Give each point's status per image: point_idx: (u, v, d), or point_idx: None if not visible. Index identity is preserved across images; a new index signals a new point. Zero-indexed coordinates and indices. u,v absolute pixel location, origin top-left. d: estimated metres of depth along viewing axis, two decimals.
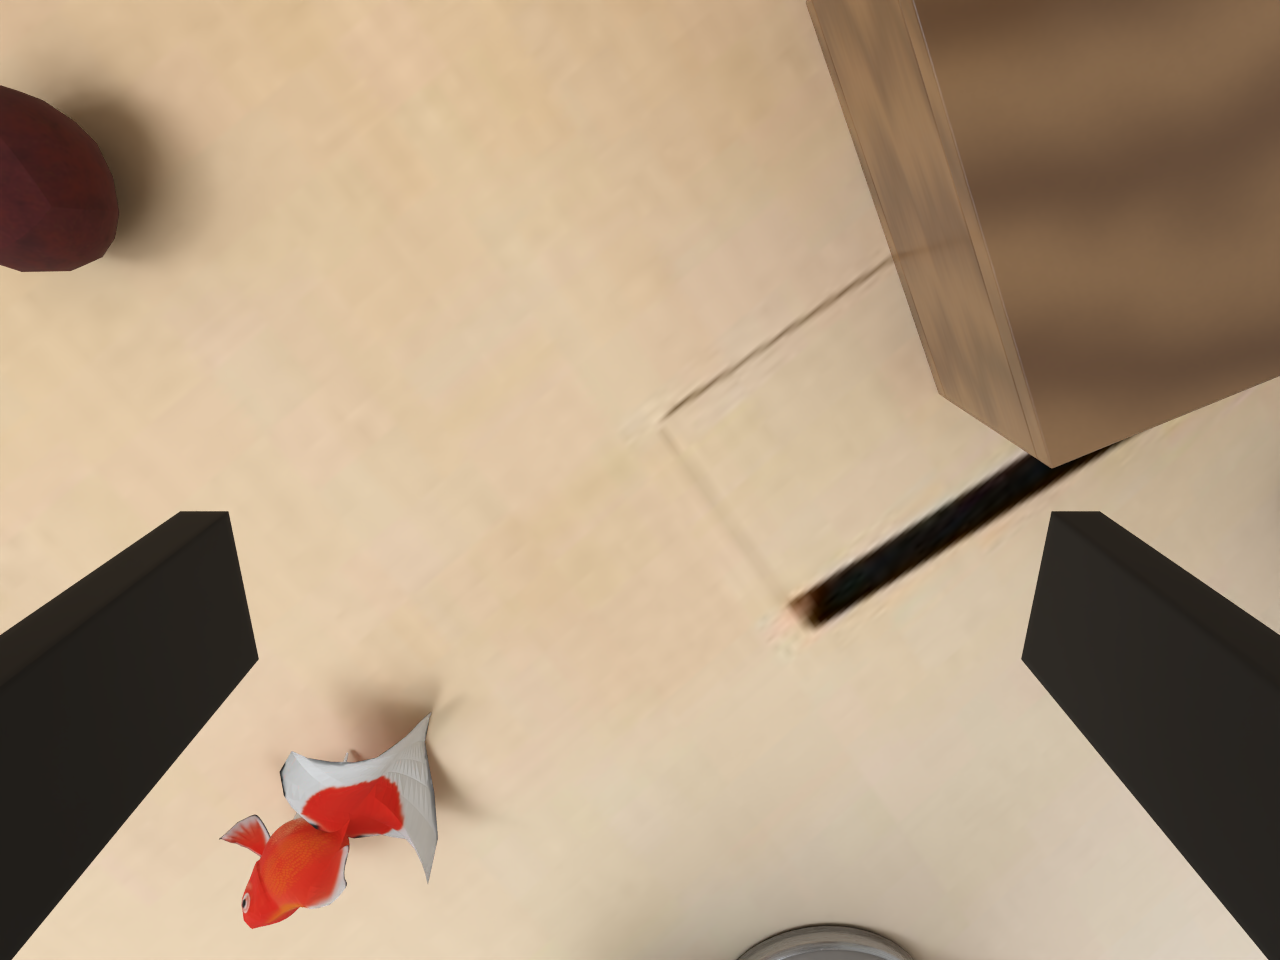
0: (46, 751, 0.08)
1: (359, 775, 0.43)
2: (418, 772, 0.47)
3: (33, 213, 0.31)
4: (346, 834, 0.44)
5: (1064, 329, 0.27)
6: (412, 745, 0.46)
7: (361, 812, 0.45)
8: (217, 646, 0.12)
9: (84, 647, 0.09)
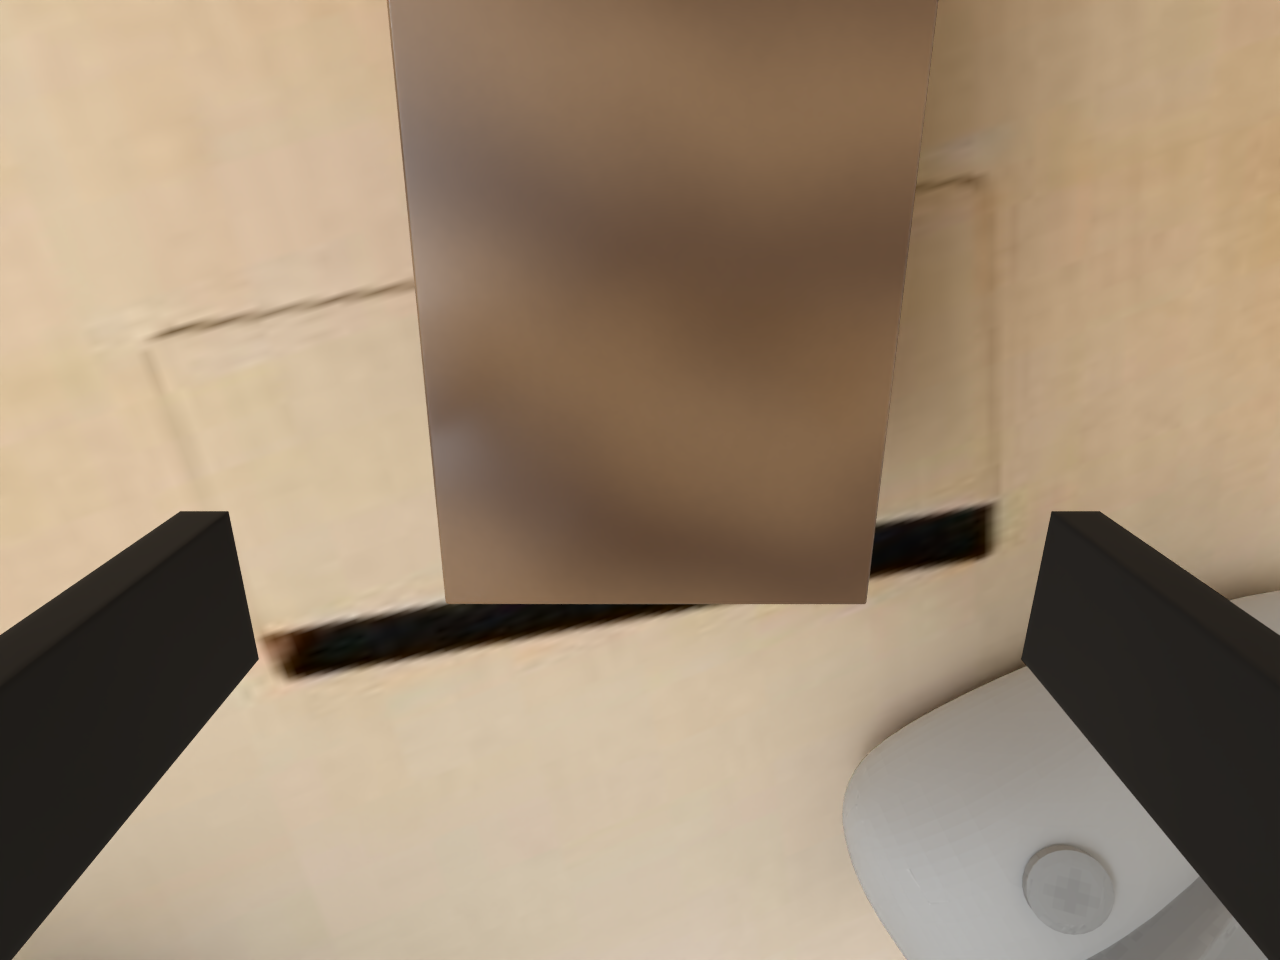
0: (46, 751, 0.08)
1: None
2: None
3: None
4: None
5: (500, 420, 0.18)
6: None
7: None
8: (217, 646, 0.12)
9: (84, 647, 0.09)
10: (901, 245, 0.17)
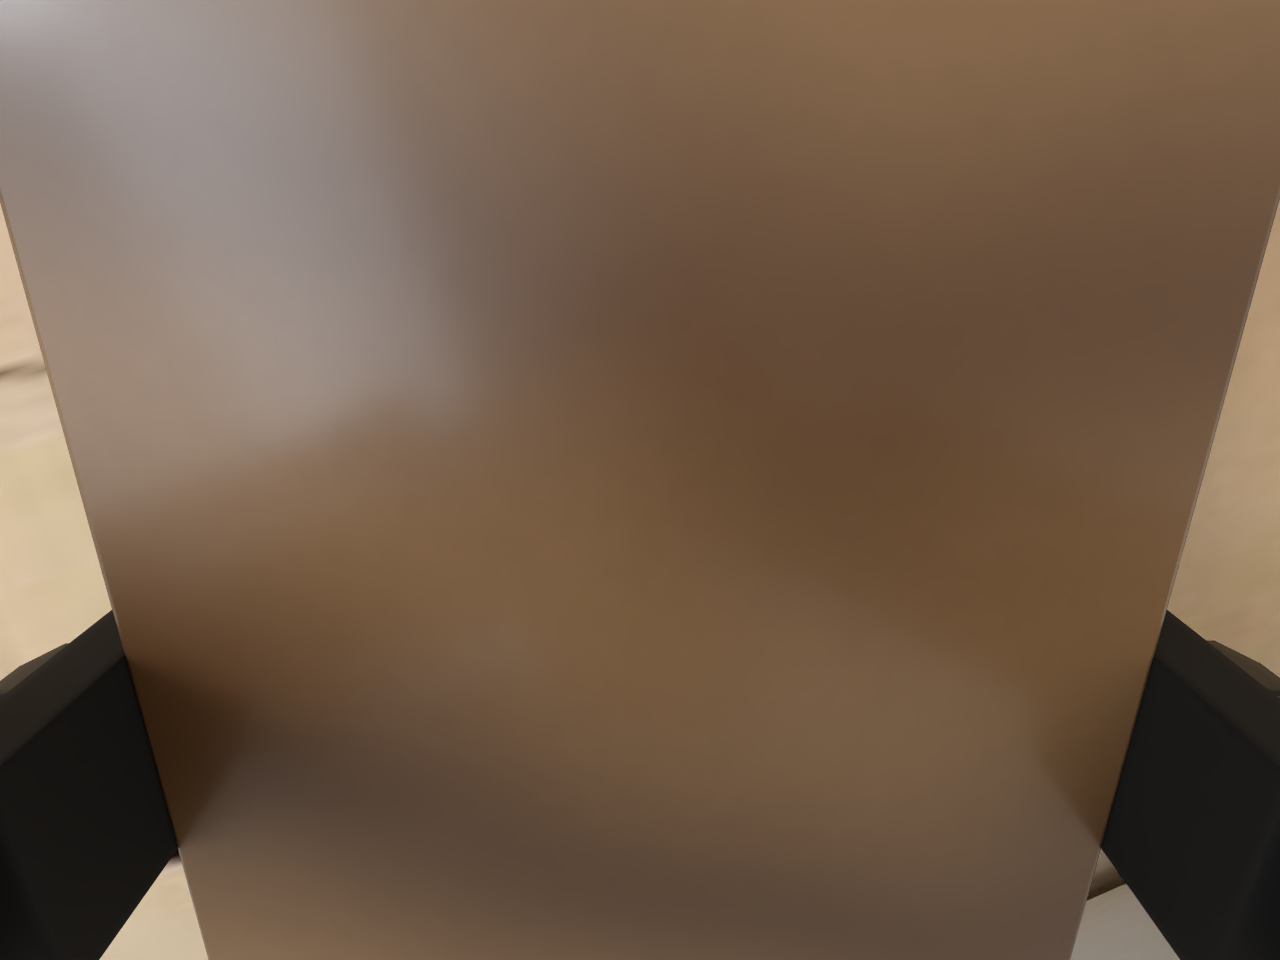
0: None
1: None
2: None
3: None
4: None
5: (289, 669, 0.08)
6: None
7: None
8: None
9: None
10: (1237, 286, 0.07)
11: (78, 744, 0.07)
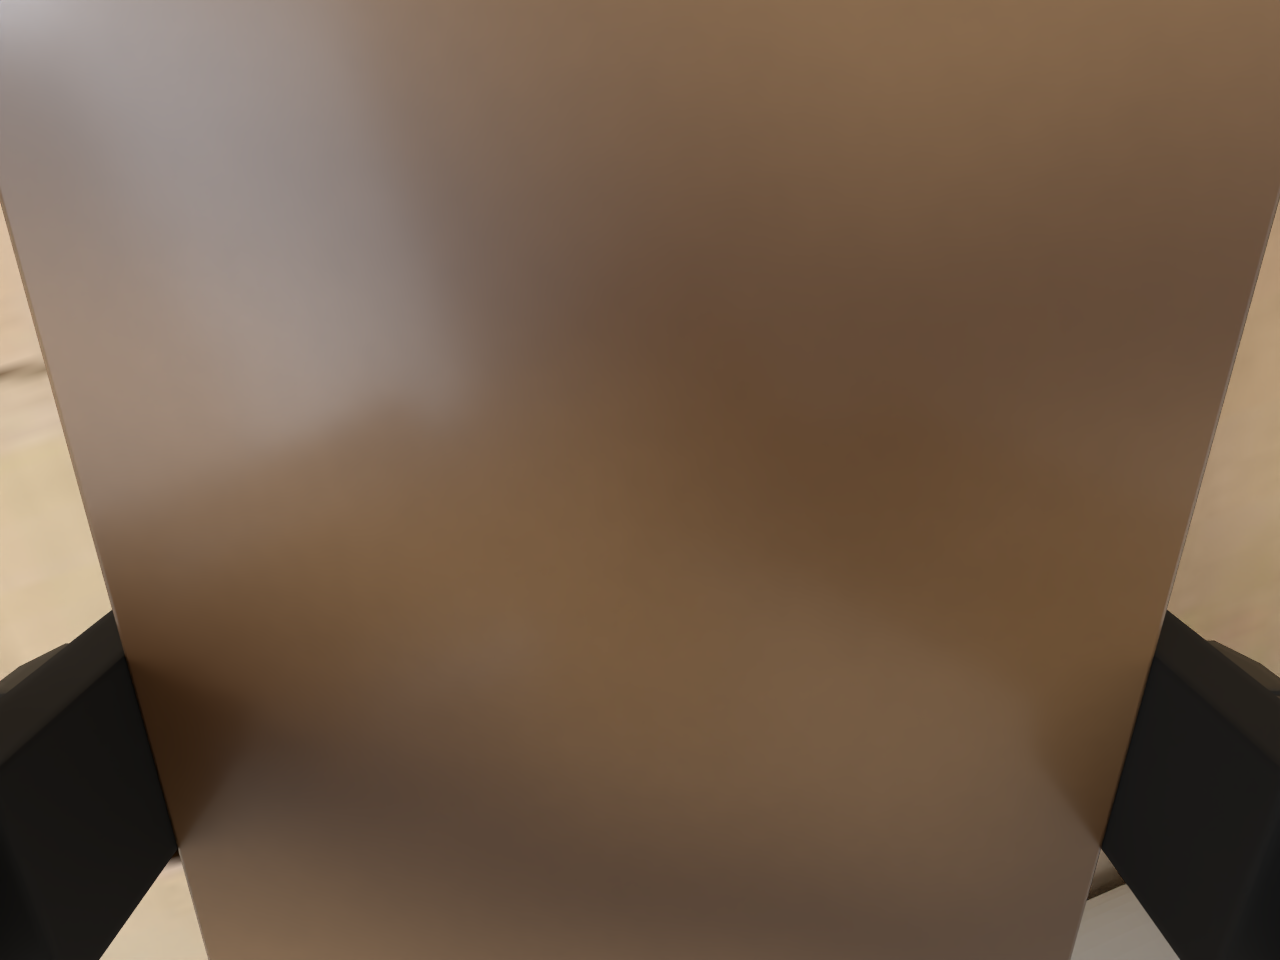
0: None
1: None
2: None
3: None
4: None
5: (288, 669, 0.08)
6: None
7: None
8: None
9: None
10: (1236, 285, 0.07)
11: (78, 744, 0.07)
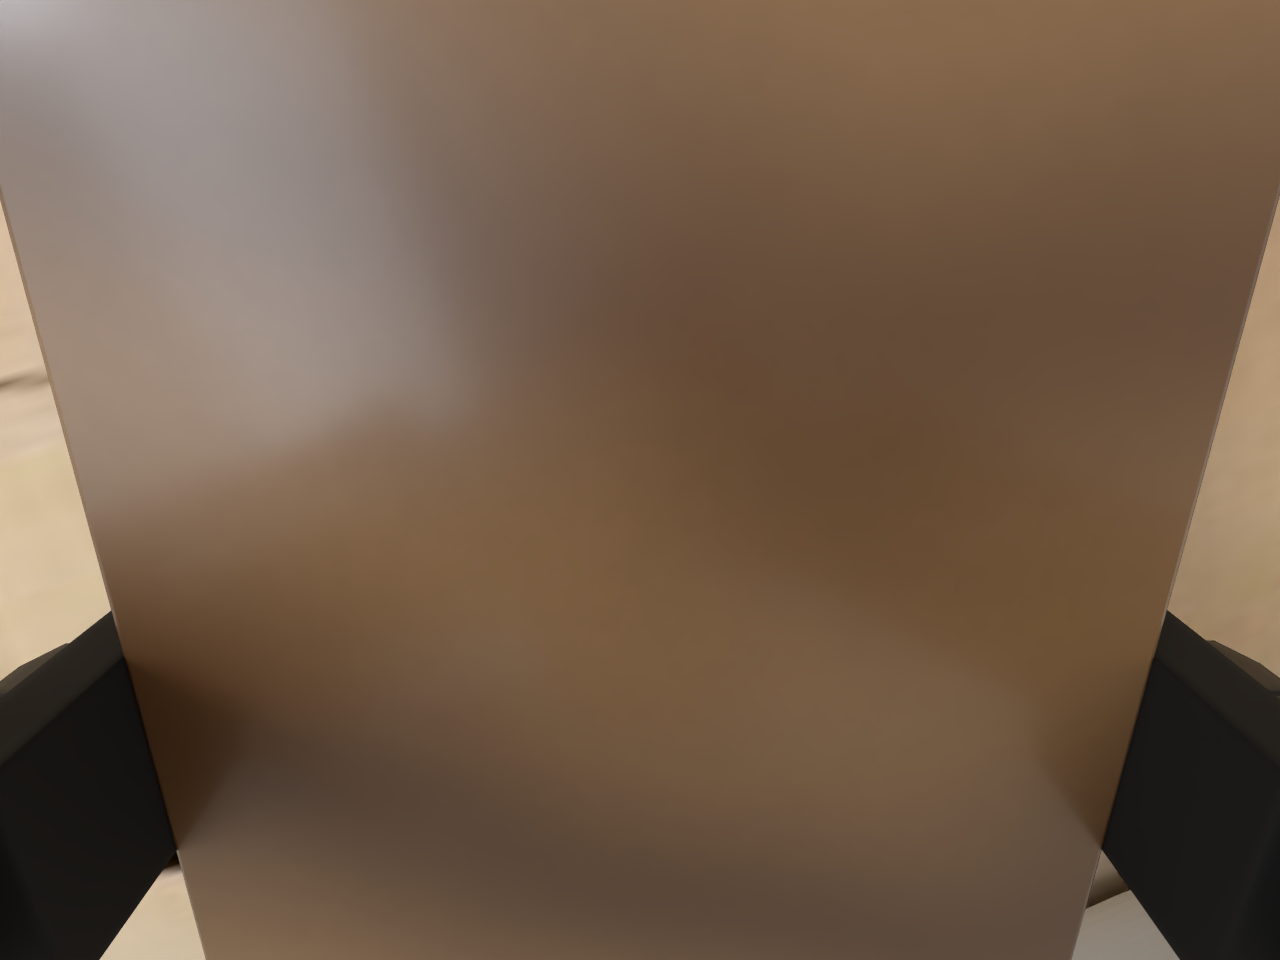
0: None
1: None
2: None
3: None
4: None
5: (288, 668, 0.08)
6: None
7: None
8: None
9: None
10: (1237, 284, 0.07)
11: (78, 744, 0.07)
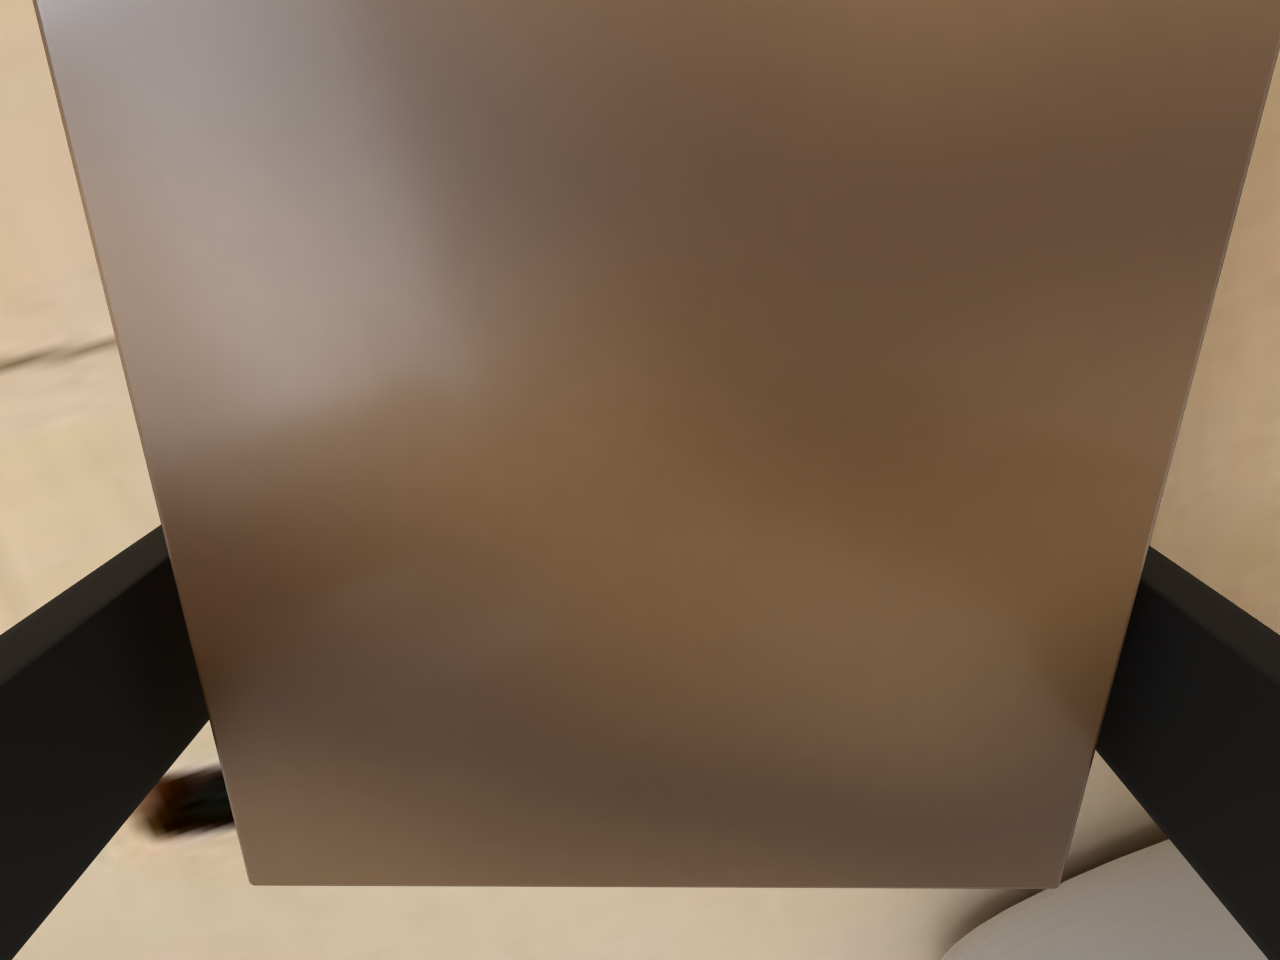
0: (46, 751, 0.08)
1: None
2: None
3: None
4: None
5: (321, 558, 0.09)
6: None
7: None
8: None
9: (84, 647, 0.09)
10: (1228, 173, 0.07)
11: None
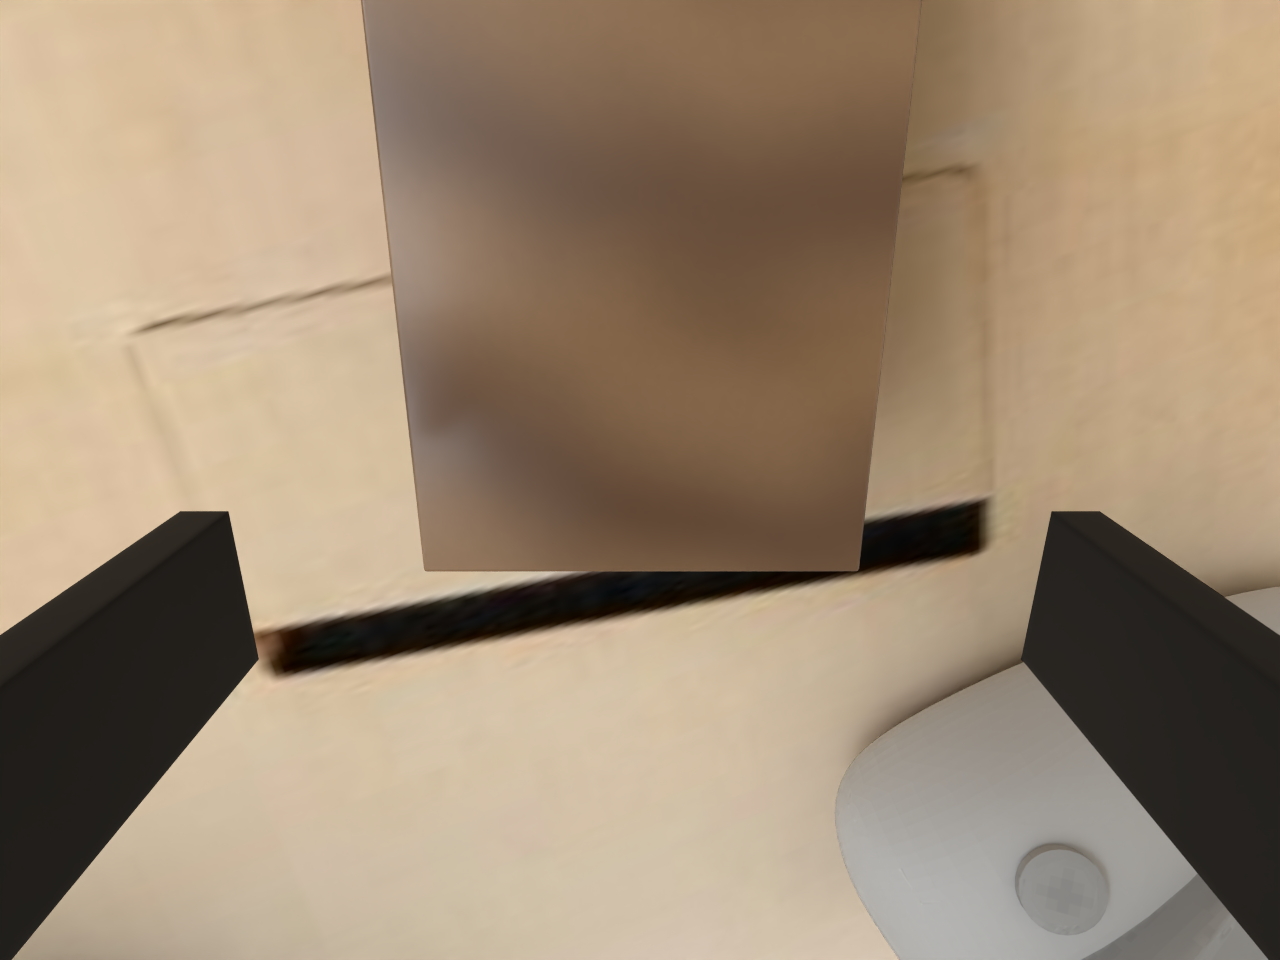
0: (46, 751, 0.08)
1: None
2: None
3: None
4: None
5: (478, 378, 0.18)
6: None
7: None
8: (217, 646, 0.12)
9: (84, 647, 0.09)
10: (893, 191, 0.16)
11: None
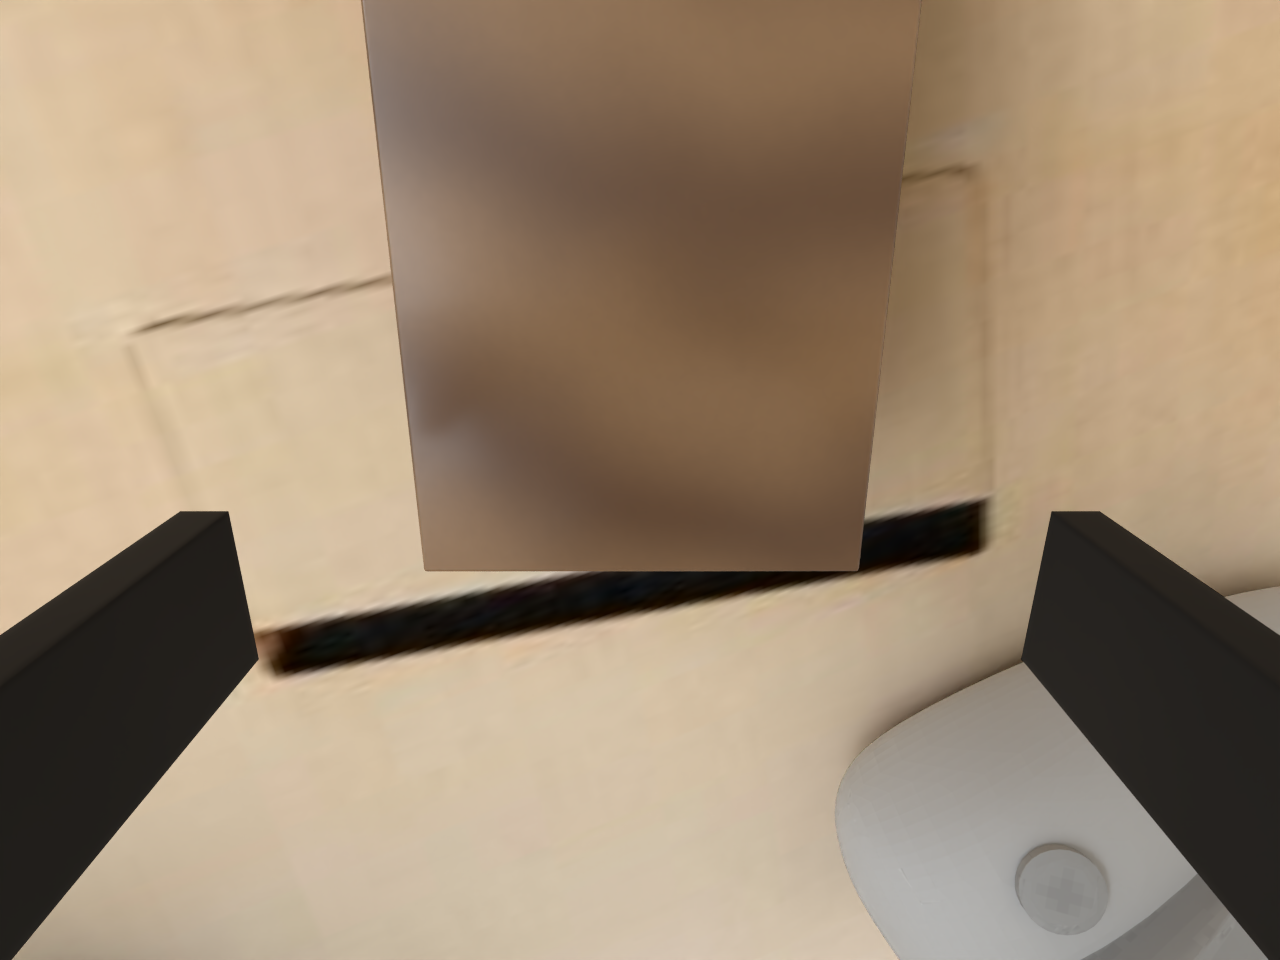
0: (46, 751, 0.08)
1: None
2: None
3: None
4: None
5: (478, 378, 0.18)
6: None
7: None
8: (217, 646, 0.12)
9: (84, 647, 0.09)
10: (892, 191, 0.16)
11: None
